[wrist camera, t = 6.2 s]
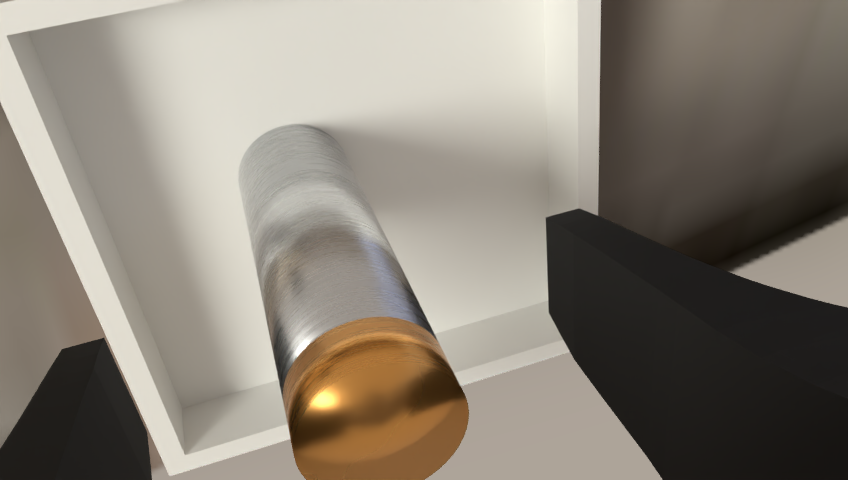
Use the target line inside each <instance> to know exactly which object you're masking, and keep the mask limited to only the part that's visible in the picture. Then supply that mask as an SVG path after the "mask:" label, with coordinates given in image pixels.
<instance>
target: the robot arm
mask: <svg viewBox="0 0 848 480" xmlns="http://www.w3.org/2000/svg"><path fill="white" fill-rule="evenodd" d="M546 244H547V276H548V307H549V314H550V316H551V318H552V320H553V322H554V323H555V325H556V327H557V329H558V331H559V333H560V335H561V337H562V338H563V340H564V342H565V344H566V345H567V347H568V349H569V351H570V352H571V354H572V356H573V358H574V359H575V361H576V362H577V364H578V365H579V366H580V368H581V369H582V371H583V372H584V373H585V375H586V376H587V377H588V378H589V380H590V381H591V383H592V384H593V385H594V387H595V388H596V389H597V391H598V392H599V394H600V395H601V396H602V398H603V399H604V400H605V402H606V403H607V404H608V405H609V407H610V408H611V409H612V411H613V412H614V413H615V415H616V416H617V417H618V419H619V420H620V421H621V423H622V424H623V425H624V426H625V428H626V429H627V431H628V432H629V433H630V435H631V436H632V437H633V439H634V440H635V441H636V443H637V444H638V445H639V447H640V448H641V449H642V451H643V452H644V453H645V455H646V456H647V457H648V459H649V460H650V461H651V463H652V465H653V466H654V467H655V469H656V470H657V472H658V473H659V475H660V476H661V478H662V479H663V480H848V308H847V307H842V306H838V305H833V304H830V303H825V302H822V301H818V300H814V299H810V298H807V297H803V296H800V295H797V294H793V293H790V292H786V291H783V290H780V289H776V288H773V287H770V286H766V285H763V284H760V283H757V282H754V281H751V280H748V279H746V278H743V277H740V276H737V275H735V274H732V273H729V272H727V271H724V270H721V269H719V268H716V267H713V266H711V265H708V264H706V263H703V262H701V261H698V260H696V259H694V258H691V257H689V256H686V255H684V254H682V253H679V252H677V251H675V250H672V249H670V248H668V247H665V246H663V245H661V244H659V243H656V242H654V241H652V240H650V239H648V238H645V237H643V236H641V235H639V234H637V233H634V232H632V231H630V230H628V229H626V228H624V227H621V226H619V225H617V224H615V223H613V222H610V221H608V220H606V219H604V218H602V217H599V216H597V215H595V214H592V213H590V212H587V211H585V210H582V209H580V208H578V209H575V210H571V211H567V212H564V213H560V214H556V215H553V216H549V217H546ZM0 480H152V476H151V465H150V455H149V446H148V437H147V431H146V429H145V427H144V425H143V422H142V420H141V418H140V416H139V414H138V411H137V409H136V407H135V405H134V403H133V400H132V398H131V396H130V394H129V392H128V389H127V387H126V385H125V383H124V381H123V378H122V376H121V374H120V372H119V370H118V367H117V365H116V363H115V361H114V359H113V356H112V354H111V352H110V350H109V348H108V346H107V343H106V341H105V339H104V338H102V339H98V340H94V341H91V342H87V343H83V344H80V345H76V346H72V347H69V348H65V349H62V350H61V352H60V353H59V355H58V357H57V358H56V360H55V361H54V363H53V364H52V366H51V368H50V369H49V371H48V372H47V374H46V376H45V377H44V379H43V381H42V382H41V384H40V386H39V387H38V389H37V391H36V392H35V394H34V396H33V397H32V399H31V401H30V402H29V404H28V406H27V407H26V409H25V411H24V412H23V414H22V416H21V417H20V419H19V420H18V422H17V424H16V425H15V427H14V428H13V430H12V431H11V433H10V435H9V436H8V438H7V439H6V441H5V442H4V444H3V445H2V447H1V449H0Z"/></svg>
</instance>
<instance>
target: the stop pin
mask: <svg viewBox="0 0 848 480" xmlns="http://www.w3.org/2000/svg"><path fill="white" fill-rule="evenodd" d="M238 182H239V188H240V193H241V198H242V203H243V208H244V213H245V218H246V222H247V227H248V232H249V237H250V242H251V247H252V252H253V257H254V262H255V267H256V272H257V276H258V281H259V286H260V291H261V296H262V301H263V306H264V311H265V316H266V321H267V326H268V330H269V335H270V340H271V345H272V350H273V355H274V360H275V365H276V370H277V375H278V380H279V385H280V389H281V394H282V399H283V404H284V409H285V414H286V419H287V424H288V429H289V434H290V439H291V443H292V448H293V453H294V458H295V461H296V464H297V467H298V469H299V470H300V472H301V474H302V475H303V476H304V478H305V479H306V480H425V479H426V478H427V477H429V476H431V475H432V474H433V473H435V472H436V471H437V470H438V469H440V468H441V467H442V466H443V465H444V464H445V463H446V462H447V461H448V460H449V459H450V457H451V456H452V455H453V454H454V453H455V451H456V450H457V448H458V447H459V445H460V443H461V441H462V439H463V437H464V435H465V432H466V429H467V425H468V419H469V418H468V417H469V410H468V403H467V400H466V397H465V394H464V392H463V390H462V388H461V386H460V384H459V382H458V380H457V378H456V376H455V374H454V372H453V370H452V368H451V366H450V364H449V362H448V360H447V358H446V356H445V354H444V352H443V350H442V348H441V346H440V344H439V342H438V340H437V338H436V336H435V334H434V332H433V330H432V328H431V326H430V324H429V322H428V320H427V318H426V316H425V314H424V312H423V310H422V308H421V306H420V304H419V302H418V300H417V298H416V296H415V294H414V292H413V290H412V288H411V286H410V284H409V282H408V280H407V278H406V276H405V274H404V272H403V270H402V268H401V266H400V263H399V261H398V259H397V257H396V255H395V253H394V251H393V249H392V247H391V245H390V243H389V241H388V239H387V237H386V235H385V233H384V231H383V229H382V227H381V225H380V223H379V221H378V219H377V217H376V215H375V213H374V211H373V209H372V207H371V205H370V203H369V201H368V199H367V197H366V195H365V193H364V191H363V189H362V187H361V185H360V183H359V181H358V179H357V177H356V175H355V173H354V171H353V169H352V167H351V165H350V163H349V161H348V159H347V157H346V155H345V153H344V151H343V149H342V147H341V146H340V145H339V143H338V142H337V141H336V140H335V139H334V138H333V137H332V136H330V135H329V134H328V133H326V132H324V131H322V130H320V129H318V128H315V127H312V126H308V125H299V124H293V125H285V126H281V127H277V128H274V129H272V130H270V131H268V132H266V133H264V134H263V135H261V136H260V137H258V138H257V139H256V140H255V141H254V142H253V143H252V144H251V145H250V146H249V147H248V149H247V151H246V152H245V154H244V156H243V158H242V160H241V163H240V166H239V172H238Z"/></svg>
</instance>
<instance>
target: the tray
mask: <svg viewBox="0 0 848 480" xmlns="http://www.w3.org/2000/svg"><path fill="white" fill-rule="evenodd" d="M600 30H601V0H0V102H1V105H2V107H3V109H4V111H5V113H6V116H7V118H8V120H9V122H10V125H11V127H12V129H13V131H14V133H15V136H16V138H17V140H18V142H19V144H20V147H21V149H22V151H23V153H24V155H25V158H26V160H27V162H28V164H29V167H30V169H31V171H32V173H33V175H34V178H35V180H36V182H37V184H38V186H39V189H40V191H41V193H42V195H43V197H44V200H45V202H46V204H47V206H48V209H49V211H50V213H51V215H52V217H53V220H54V222H55V224H56V226H57V228H58V231H59V233H60V235H61V237H62V239H63V242H64V244H65V246H66V248H67V251H68V253H69V255H70V257H71V259H72V262H73V264H74V266H75V268H76V270H77V273H78V275H79V277H80V279H81V281H82V284H83V286H84V288H85V290H86V293H87V295H88V297H89V299H90V301H91V304H92V306H93V308H94V310H95V312H96V315H97V317H98V319H99V321H100V323H101V326H102V328H103V330H104V332H105V334H106V337H107V339H108V341H109V343H110V346H111V348H112V350H113V352H114V354H115V357H116V359H117V361H118V363H119V365H120V368H121V370H122V372H123V374H124V376H125V379H126V381H127V383H128V385H129V388H130V390H131V392H132V394H133V396H134V399H135V401H136V403H137V405H138V407H139V410H140V412H141V414H142V416H143V418H144V421H145V423H146V425H147V427H148V430H149V432H150V434H151V436H152V438H153V441H154V443H155V445H156V447H157V449H158V452H159V454H160V456H161V458H162V460H163V463H164V465H165V467H166V469H167V471H168V474H169V476H172V475H175V474H179V473H182V472H185V471H188V470H192V469H195V468H198V467H201V466H205V465H208V464H211V463H214V462H217V461H221V460H224V459H227V458H230V457H234V456H237V455H240V454H243V453H246V452H250V451H253V450H256V449H259V448H263V447H266V446H269V445H272V444H275V443H279V442H282V441H285V440H288V439H290V434H289V429H288V424H287V419H286V414H285V409H284V404H283V399H282V394H281V389H280V385H279V380H278V375H277V370H276V365H275V360H274V355H273V350H272V345H271V340H270V335H269V330H268V326H267V321H266V316H265V311H264V306H263V301H262V296H261V291H260V286H259V281H258V276H257V272H256V267H255V262H254V257H253V252H252V247H251V242H250V237H249V232H248V227H247V222H246V218H245V213H244V208H243V203H242V198H241V193H240V188H239V182H238V172H239V166H240V163H241V160H242V158H243V156H244V154H245V152H246V151H247V149H248V147H249V146H250V145H251V144H252V143H253V142H254V141H255V140H256V139H257V138H258V137H260V136H261V135H263V134H264V133H266V132H268V131H270V130H272V129H274V128H277V127H281V126H285V125H293V124H299V125H308V126H312V127H315V128H318V129H320V130H322V131H324V132H326V133H328V134H329V135H330V136H332V137H333V138H334V139H335V140H336V141H337V142H338V143H339V145H340V146H341V147H342V149H343V151H344V153H345V155H346V157H347V159H348V161H349V163H350V165H351V167H352V169H353V171H354V173H355V175H356V177H357V179H358V181H359V183H360V185H361V187H362V189H363V191H364V193H365V195H366V197H367V199H368V201H369V203H370V205H371V207H372V209H373V211H374V213H375V215H376V217H377V219H378V221H379V223H380V225H381V227H382V229H383V231H384V233H385V235H386V237H387V239H388V241H389V243H390V245H391V247H392V249H393V251H394V253H395V255H396V257H397V259H398V261H399V263H400V266H401V268H402V270H403V272H404V274H405V276H406V278H407V280H408V282H409V284H410V286H411V288H412V290H413V292H414V294H415V296H416V298H417V300H418V302H419V304H420V306H421V308H422V310H423V312H424V314H425V316H426V318H427V320H428V322H429V324H430V326H431V328H432V330H433V332H434V334H435V336H436V338H437V340H438V342H439V344H440V346H441V348H442V350H443V352H444V354H445V356H446V358H447V360H448V362H449V364H450V366H451V368H452V370H453V372H454V374H455V376H456V378H457V380H458V382H459V384H460V386H462V385H465V384H469V383H472V382H475V381H479V380H482V379H485V378H488V377H492V376H494V375H498V374H501V373H504V372H508V371H511V370H514V369H517V368H520V367H524V366H527V365H530V364H533V363H537V362H540V361H543V360H546V359H550V358H553V357H556V356H559V355H562V354H566V353H569V352H570V351H569V349H568V347H567V345H566V344H565V342H564V340H563V338H562V337H561V335H560V333H559V331H558V329H557V327H556V325H555V323H554V322H553V320H552V318H551V316H550V314H549V307H548V276H547V244H546V217H549V216H553V215H556V214H560V213H564V212H567V211H571V210H575V209H578V208H580V209H582V210H585V211H587V212H590V213H592V214H595V215H597V216H598V182H599V106H600Z"/></svg>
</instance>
